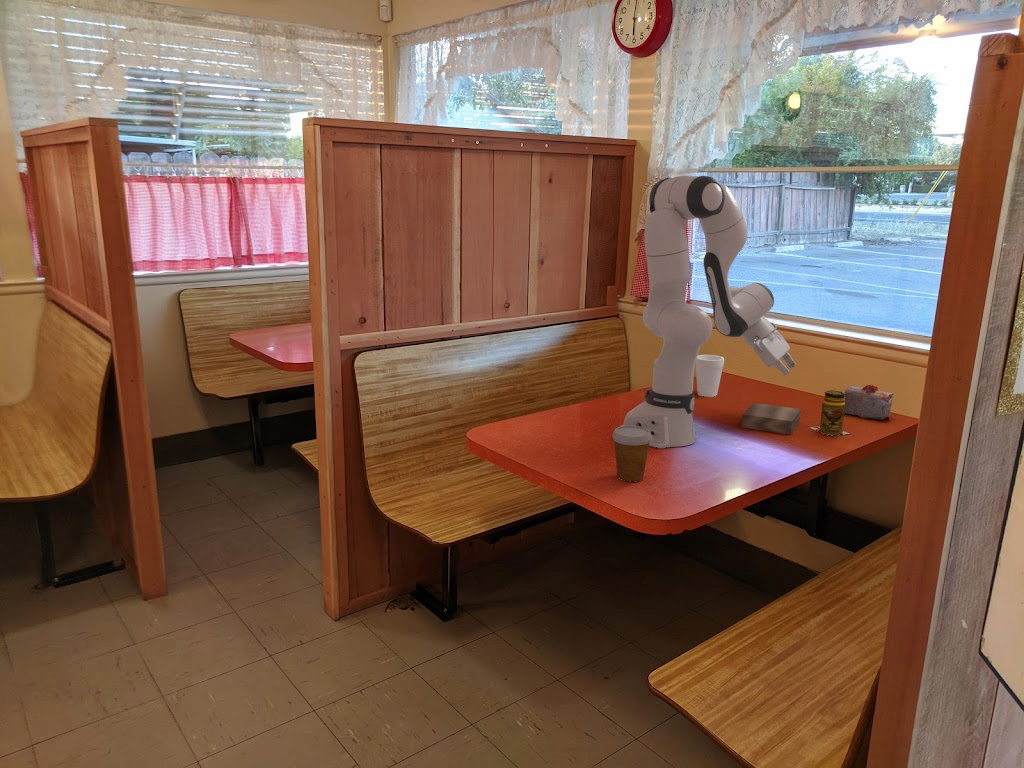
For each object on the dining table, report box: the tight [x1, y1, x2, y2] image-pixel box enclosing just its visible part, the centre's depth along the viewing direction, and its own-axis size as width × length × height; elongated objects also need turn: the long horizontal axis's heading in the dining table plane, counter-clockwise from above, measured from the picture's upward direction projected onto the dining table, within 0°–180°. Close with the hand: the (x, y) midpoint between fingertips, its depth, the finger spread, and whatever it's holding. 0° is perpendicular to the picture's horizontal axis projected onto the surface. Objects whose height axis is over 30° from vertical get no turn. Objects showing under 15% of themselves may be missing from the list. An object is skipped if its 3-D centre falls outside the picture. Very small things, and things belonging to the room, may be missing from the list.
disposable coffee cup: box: [611, 425, 652, 483], centre depth 182 cm, size 10×10×12 cm
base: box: [741, 402, 802, 436], centre depth 224 cm, size 14×14×4 cm
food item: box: [844, 384, 895, 421], centre depth 232 cm, size 14×8×10 cm, turn 50°
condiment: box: [809, 389, 850, 437], centre depth 217 cm, size 7×8×12 cm
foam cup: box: [695, 354, 725, 398], centre depth 255 cm, size 10×9×13 cm
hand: (790, 370), depth 220 cm, fingers open, 8 cm apart
